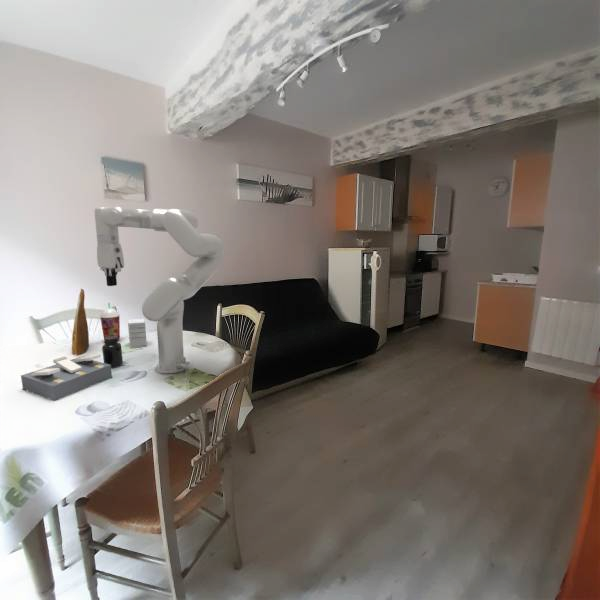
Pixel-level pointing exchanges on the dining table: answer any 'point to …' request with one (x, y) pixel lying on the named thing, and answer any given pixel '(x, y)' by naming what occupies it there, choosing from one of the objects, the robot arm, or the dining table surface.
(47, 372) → the rocker
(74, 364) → the rocker
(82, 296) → the pancake mix bag
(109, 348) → the supplement bottle
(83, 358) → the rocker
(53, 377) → the console
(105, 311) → the smoothie
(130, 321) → the supplement box
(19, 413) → the dining table surface
